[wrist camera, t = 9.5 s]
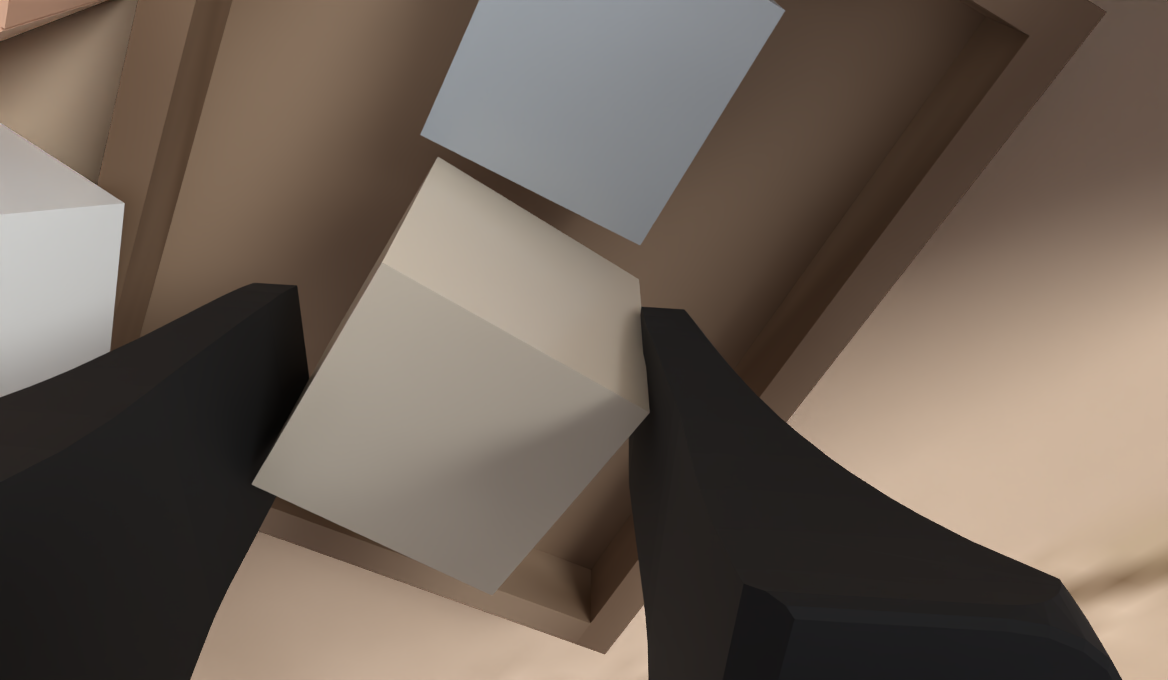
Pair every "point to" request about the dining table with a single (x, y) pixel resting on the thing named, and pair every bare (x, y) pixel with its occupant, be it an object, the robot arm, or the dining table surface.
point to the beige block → (467, 386)
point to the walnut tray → (661, 263)
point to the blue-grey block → (597, 96)
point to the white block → (53, 265)
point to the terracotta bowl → (36, 13)
